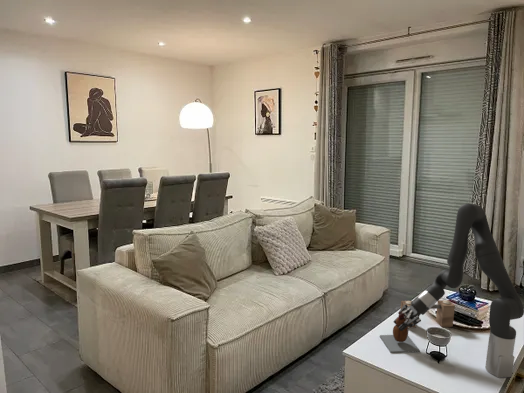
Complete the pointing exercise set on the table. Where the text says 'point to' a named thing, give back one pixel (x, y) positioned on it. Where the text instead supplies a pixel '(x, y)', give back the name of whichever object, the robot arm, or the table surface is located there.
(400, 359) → the table surface
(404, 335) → the wooden figurine
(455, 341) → the table surface
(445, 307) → the handrail
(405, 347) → the slate mat
